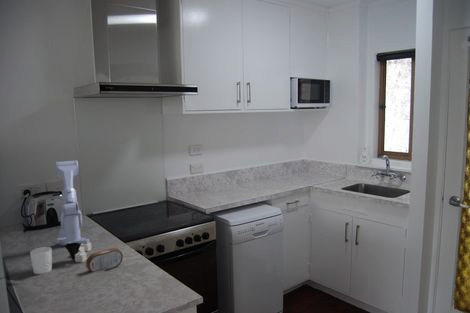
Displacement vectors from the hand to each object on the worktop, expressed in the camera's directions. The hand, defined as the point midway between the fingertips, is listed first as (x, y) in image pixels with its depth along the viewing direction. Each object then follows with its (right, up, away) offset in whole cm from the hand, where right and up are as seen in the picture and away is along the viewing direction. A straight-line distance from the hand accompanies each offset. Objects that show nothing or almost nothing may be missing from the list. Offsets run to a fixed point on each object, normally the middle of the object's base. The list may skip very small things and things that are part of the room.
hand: (74, 258), depth 160 cm
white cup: (-9, -4, -9) cm, 13 cm away
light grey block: (0, +1, +12) cm, 12 cm away
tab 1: (-1, 0, +6) cm, 6 cm away
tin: (+17, -3, -7) cm, 18 cm away
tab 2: (+3, -1, 0) cm, 3 cm away
